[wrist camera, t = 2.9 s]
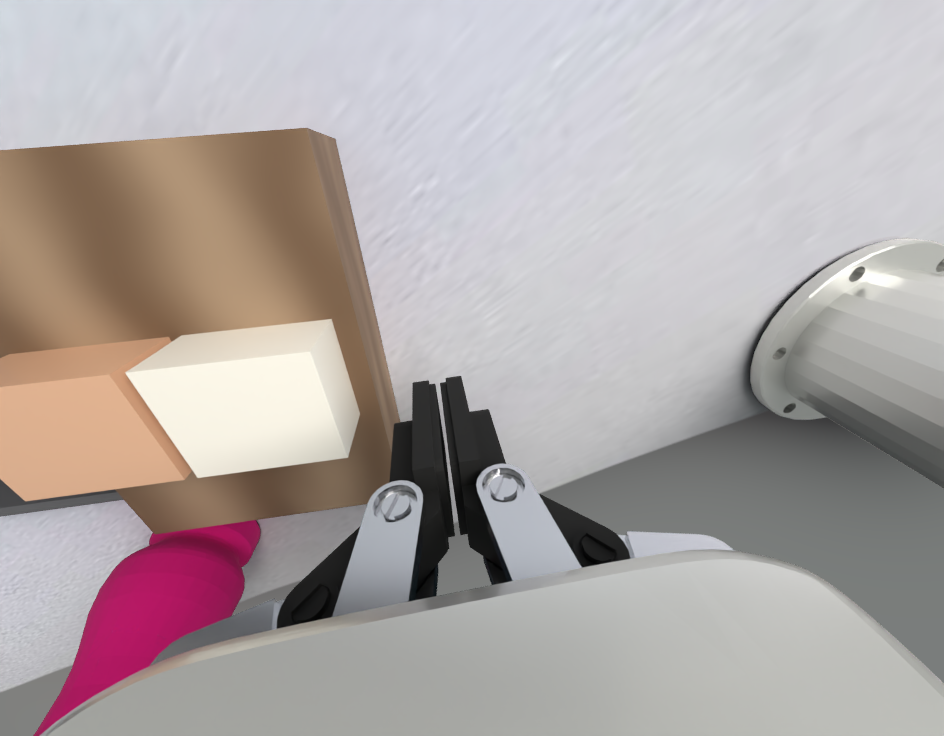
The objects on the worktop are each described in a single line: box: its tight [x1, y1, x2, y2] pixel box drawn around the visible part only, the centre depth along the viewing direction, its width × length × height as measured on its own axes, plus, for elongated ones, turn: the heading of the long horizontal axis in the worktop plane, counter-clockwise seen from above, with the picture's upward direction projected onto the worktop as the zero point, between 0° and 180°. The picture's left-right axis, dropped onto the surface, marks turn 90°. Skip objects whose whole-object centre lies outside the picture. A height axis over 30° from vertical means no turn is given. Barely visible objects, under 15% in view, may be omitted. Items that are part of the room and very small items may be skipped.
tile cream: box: [125, 319, 360, 478], centre depth 14 cm, size 6×5×3 cm
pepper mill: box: [34, 520, 260, 736], centre depth 16 cm, size 7×7×20 cm
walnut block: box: [0, 128, 400, 534], centre depth 17 cm, size 14×18×4 cm
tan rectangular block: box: [0, 337, 192, 501], centre depth 14 cm, size 6×5×3 cm
